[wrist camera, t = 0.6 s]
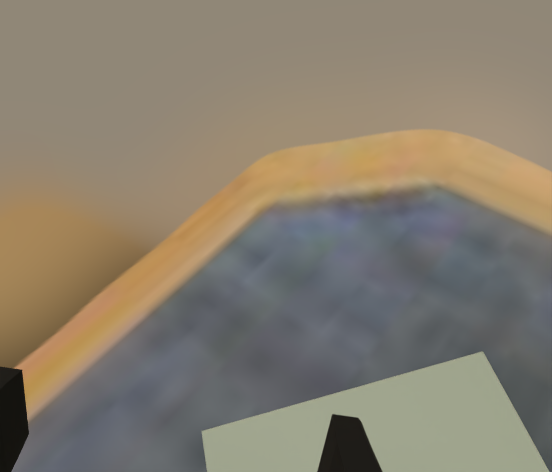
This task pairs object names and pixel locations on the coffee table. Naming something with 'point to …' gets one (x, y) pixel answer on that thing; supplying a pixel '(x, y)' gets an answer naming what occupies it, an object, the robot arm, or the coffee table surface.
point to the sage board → (391, 426)
